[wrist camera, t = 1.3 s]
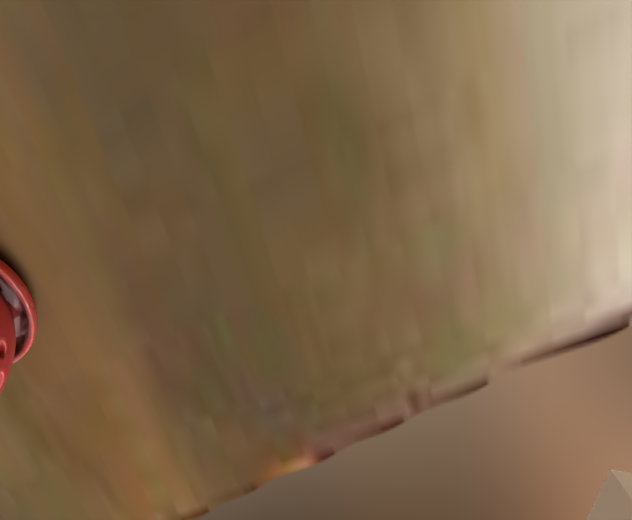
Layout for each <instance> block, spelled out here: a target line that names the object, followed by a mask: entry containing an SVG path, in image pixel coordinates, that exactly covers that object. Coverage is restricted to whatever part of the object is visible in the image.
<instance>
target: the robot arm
mask: <svg viewBox="0 0 632 520" xmlns="http://www.w3.org/2000/svg"><path fill="white" fill-rule="evenodd" d="M586 520H632V473H628V472H623V471H618V470H612V469H610V471H609V473H608V475H607V477H606V479H605V482H604V484H603V486H602V488H601V490H600V492H599V494H598V496H597V498H596V500H595V503H594V504H593V506H592V509H591V511H590V513H589V515H588V517H587V519H586Z"/></svg>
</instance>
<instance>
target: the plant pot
mask: <svg viewBox="0 0 632 520" xmlns="http://www.w3.org/2000/svg"><path fill="white" fill-rule="evenodd" d="M36 331H37V313H36V308H35V304H34V302H33V299H32V297H31V294H30V292H29V290H28V289H27V287H26V286H25V284H24V283H23V281H22V280H21V279H20V278H19V277H18V275H17V274H16V273H15V272H14V271H13V270H12V269H11V268H10V267H9V266H8V265H7V264H5V263H4V262H3V261H2V260H0V394H1V392H2V390H3V388H4V386H5V383H6V381H7V379H8V376H9V373H10V370H11V367H12V364H13V363H15V362H16V361H18V360H19V359H20V358H22V357H23V356H24V355H25V354H26V353H27V351H28V350H29V349H30V347H31V345H32V344H33V341H34V339H35V336H36Z"/></svg>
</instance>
